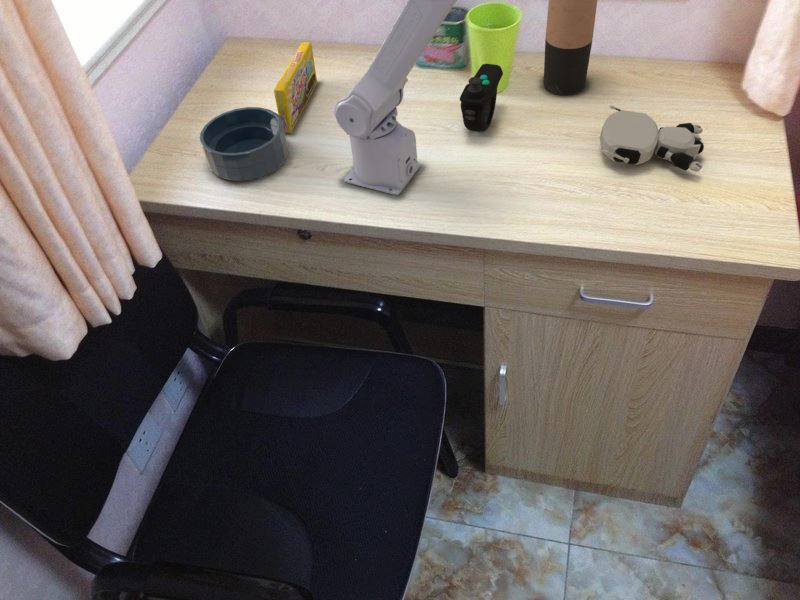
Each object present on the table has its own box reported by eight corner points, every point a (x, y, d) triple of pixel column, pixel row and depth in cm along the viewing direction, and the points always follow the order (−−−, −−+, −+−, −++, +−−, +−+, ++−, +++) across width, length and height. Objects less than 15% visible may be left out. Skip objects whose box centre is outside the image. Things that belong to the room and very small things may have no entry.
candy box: (293, 134, 117) (283, 90, 111) (281, 133, 117) (270, 90, 111) (319, 83, 127) (311, 41, 121) (308, 83, 128) (300, 40, 121)
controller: (457, 142, 111) (455, 87, 104) (480, 102, 119) (480, 47, 111) (482, 147, 110) (483, 91, 102) (504, 105, 117) (506, 51, 110)
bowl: (304, 144, 114) (298, 115, 110) (259, 191, 107) (251, 162, 103) (240, 129, 119) (232, 101, 115) (193, 173, 112) (182, 144, 107)
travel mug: (554, 69, 124) (565, -47, 109) (594, 79, 120) (610, -38, 106) (533, 89, 120) (542, -28, 105) (574, 100, 117) (588, -19, 102)
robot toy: (698, 140, 108) (601, 125, 111) (707, 115, 104) (607, 100, 107) (697, 188, 100) (593, 171, 103) (707, 163, 97) (599, 146, 100)
